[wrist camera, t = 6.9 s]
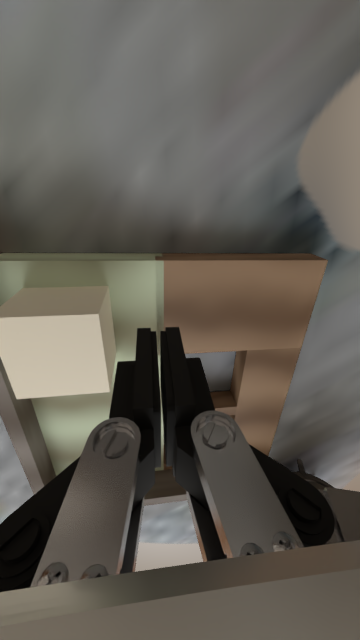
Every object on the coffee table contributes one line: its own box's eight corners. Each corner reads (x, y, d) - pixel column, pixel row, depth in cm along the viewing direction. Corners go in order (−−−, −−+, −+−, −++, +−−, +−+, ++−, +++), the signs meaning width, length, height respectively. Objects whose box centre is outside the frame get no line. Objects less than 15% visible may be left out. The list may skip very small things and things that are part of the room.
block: (22, 287, 15) (-15, 318, 11) (108, 285, 16) (98, 314, 12) (42, 356, 17) (16, 399, 14) (116, 352, 18) (110, 392, 14)
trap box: (-15, 253, 16) (-69, 274, 12) (310, 253, 18) (355, 270, 14) (55, 468, 26) (39, 519, 22) (258, 447, 29) (276, 488, 25)
